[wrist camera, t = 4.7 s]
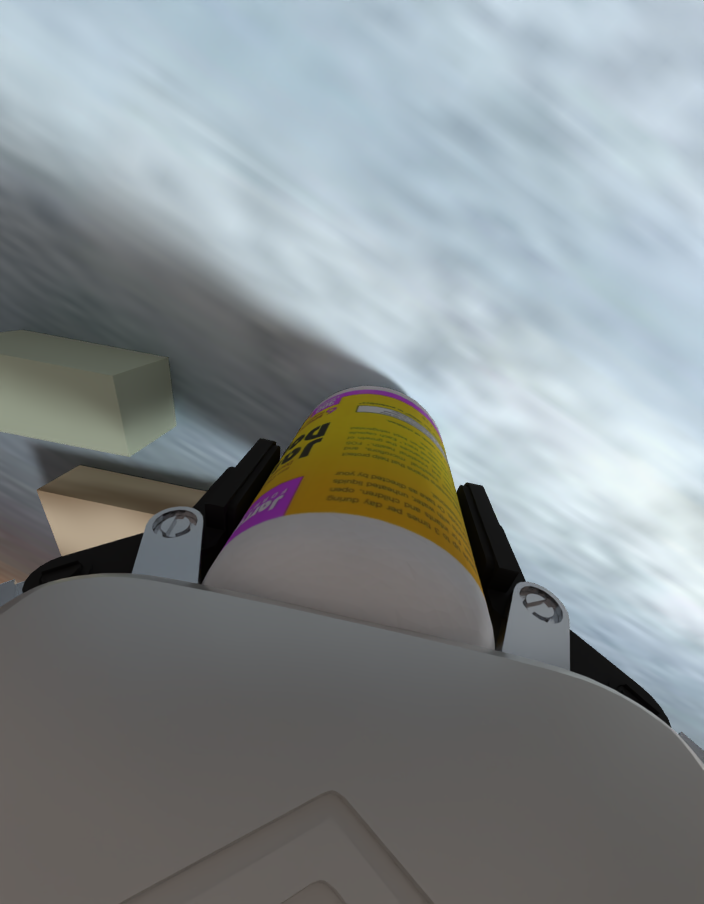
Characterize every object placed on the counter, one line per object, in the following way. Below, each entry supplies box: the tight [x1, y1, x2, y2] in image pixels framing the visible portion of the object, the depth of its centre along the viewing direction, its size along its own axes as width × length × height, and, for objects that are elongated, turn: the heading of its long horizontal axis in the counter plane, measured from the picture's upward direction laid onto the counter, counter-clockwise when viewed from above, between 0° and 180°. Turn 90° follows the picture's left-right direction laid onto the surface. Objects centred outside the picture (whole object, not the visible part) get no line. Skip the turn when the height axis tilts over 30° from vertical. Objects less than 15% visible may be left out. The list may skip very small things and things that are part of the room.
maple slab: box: [37, 465, 207, 556], centre depth 19 cm, size 11×11×2 cm
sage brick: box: [0, 330, 176, 457], centre depth 14 cm, size 7×4×4 cm, turn 81°
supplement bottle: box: [202, 386, 495, 650], centre depth 10 cm, size 7×7×13 cm
